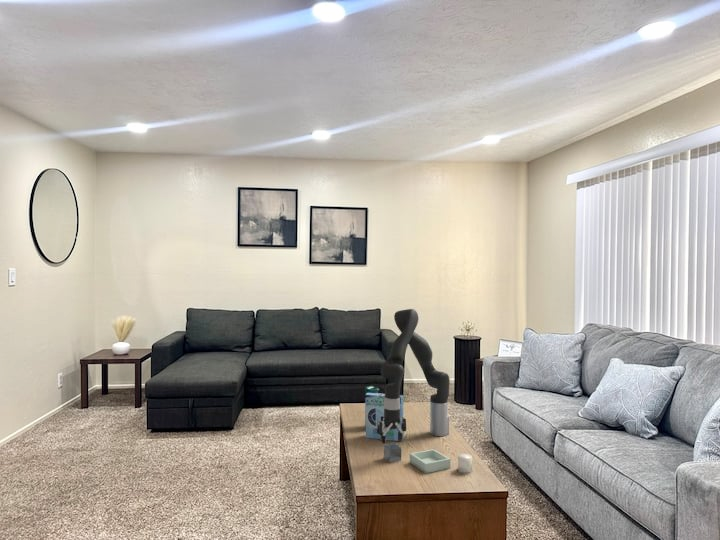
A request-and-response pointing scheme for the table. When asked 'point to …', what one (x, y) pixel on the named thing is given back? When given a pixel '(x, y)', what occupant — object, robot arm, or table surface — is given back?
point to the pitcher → (371, 390)
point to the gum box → (379, 416)
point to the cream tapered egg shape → (465, 463)
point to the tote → (430, 460)
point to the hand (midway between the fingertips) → (391, 442)
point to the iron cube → (392, 453)
